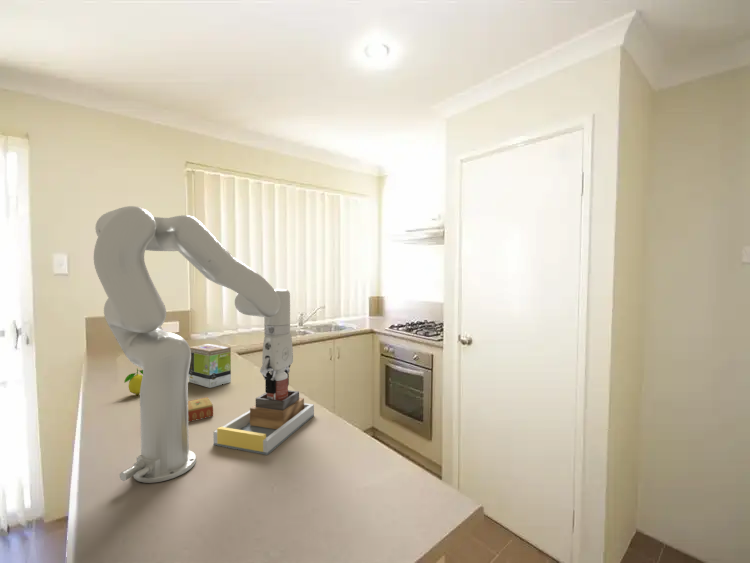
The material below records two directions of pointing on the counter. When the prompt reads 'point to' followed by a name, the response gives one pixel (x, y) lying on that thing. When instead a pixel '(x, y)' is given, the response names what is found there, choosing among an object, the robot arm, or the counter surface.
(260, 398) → the box
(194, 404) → the carton
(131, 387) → the lemon
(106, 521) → the counter surface
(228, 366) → the tea box
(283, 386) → the pill bottle
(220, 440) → the bay
